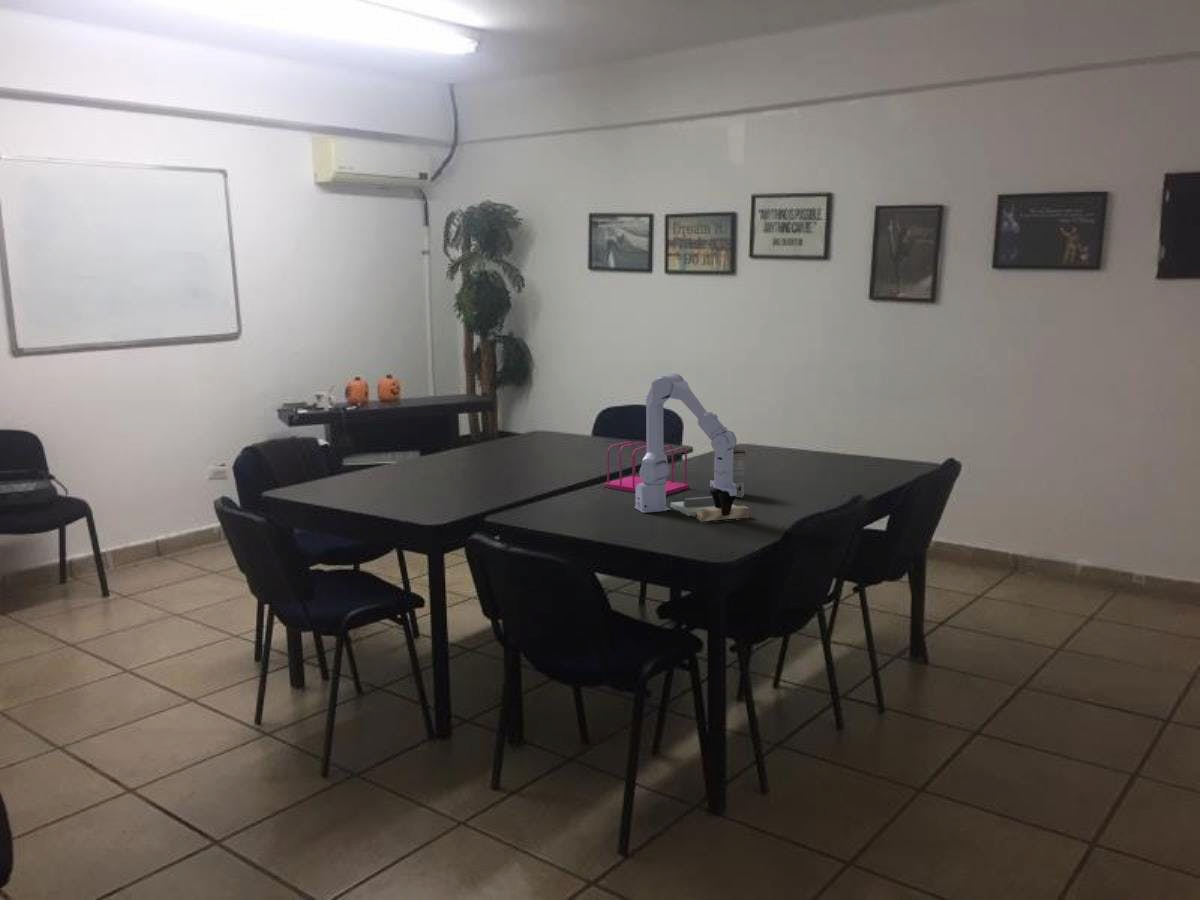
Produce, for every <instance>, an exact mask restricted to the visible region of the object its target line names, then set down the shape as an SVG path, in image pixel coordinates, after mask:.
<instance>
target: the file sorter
mask: <svg viewBox="0 0 1200 900" xmlns="http://www.w3.org/2000/svg"><path fill="white" fill-rule="evenodd" d="M641 444H643V446H640V447H637V448H636V445H641ZM617 446H621V447H620V449H619V454H618V457H619V479H615V480H611V481H610V450H611V448H613V447H617ZM630 446H631V447H632V446H633V452H632V456H631V467H632V468H631V471H632V473H631V474H632V475H631V476H627V477H624V478H623V477H622V474H623V473H622V451H623V449H624V448H627V447H630ZM663 447H664V449H666V448H670V449H669V450H667V451H664V454H665V455H666V454H670V453H671V480H666V496H668V494H669V495H672V494H676V493H679V492H682V491H681V490H683V491H685V490H684V489H686V490H688V489H687V488H689V489H690V483H688V451H687V448H685V447H683V446H680V447H677V448H674V447H673V446H672V445H665V446H664V445H663ZM642 449H645V454H646V453H647V443H646V441H639V442H633V441H626V442H624V441H623V442H620V443H616V444H611V445H610V446H609V447H608V448H607V451H606V452H607V454H606V456H607V457H606V470H607V471H606V476H607V477H606V482H604V488H607V489H611V488H612V489H613V490H619V491H626V492H631V493H635V489H636V485H637V484H640V483H643V480H642V479H641V477H640V475H639V476H637V475H636V452H637V451H639V450H642ZM682 449H683V450H684V483H683V482H677V481H676V482H675V481H674V480H675V479H674V474H675V473H674V472H675V471H674V468H675V467H674V465H675V464H674V461H675V460H674V459H675V457H674V456H675V455H674V454H675V453H674V452H675V451H678V450H682ZM678 491H679V492H678ZM675 492H676V493H675ZM671 493H672V494H671Z"/></svg>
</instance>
